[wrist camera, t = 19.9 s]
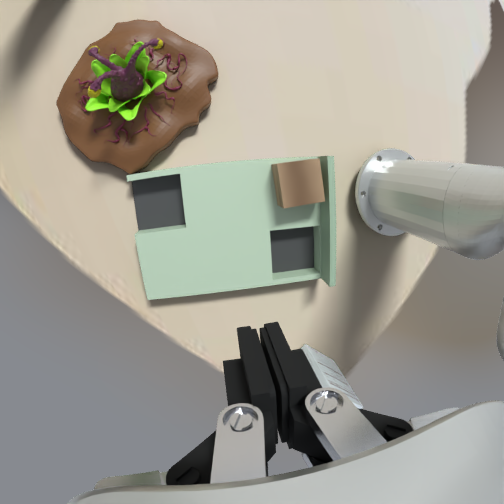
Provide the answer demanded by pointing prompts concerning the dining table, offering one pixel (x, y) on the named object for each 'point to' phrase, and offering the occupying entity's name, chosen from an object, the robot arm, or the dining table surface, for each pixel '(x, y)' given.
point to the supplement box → (329, 374)
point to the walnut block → (298, 183)
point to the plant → (135, 94)
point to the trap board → (230, 229)
